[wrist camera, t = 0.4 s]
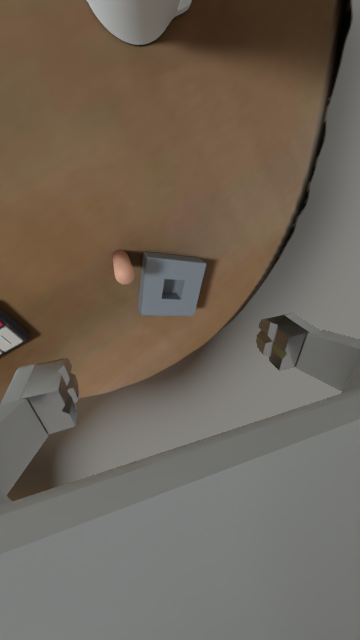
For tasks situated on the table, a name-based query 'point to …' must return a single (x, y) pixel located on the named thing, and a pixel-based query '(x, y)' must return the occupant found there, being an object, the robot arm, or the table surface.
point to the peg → (123, 267)
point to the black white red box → (10, 333)
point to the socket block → (170, 284)
